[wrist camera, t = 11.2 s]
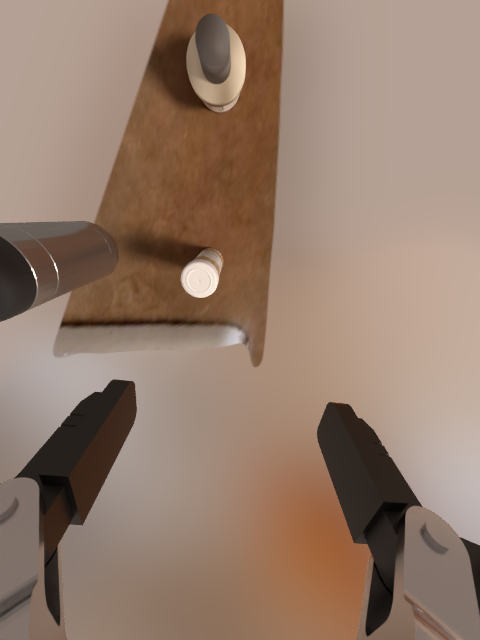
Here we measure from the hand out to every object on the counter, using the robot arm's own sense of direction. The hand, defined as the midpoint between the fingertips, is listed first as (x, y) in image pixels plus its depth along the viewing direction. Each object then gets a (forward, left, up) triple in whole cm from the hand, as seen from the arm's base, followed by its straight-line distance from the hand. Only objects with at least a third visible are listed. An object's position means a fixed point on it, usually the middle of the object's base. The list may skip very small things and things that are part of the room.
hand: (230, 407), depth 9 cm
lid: (+8, +22, -30) cm, 38 cm away
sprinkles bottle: (-4, +2, -33) cm, 34 cm away
